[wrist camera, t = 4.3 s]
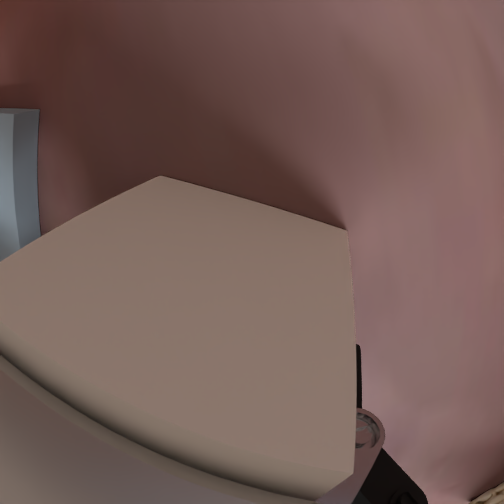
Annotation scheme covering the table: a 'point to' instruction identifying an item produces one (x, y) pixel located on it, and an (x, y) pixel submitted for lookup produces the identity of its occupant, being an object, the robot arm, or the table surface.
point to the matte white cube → (196, 332)
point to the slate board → (18, 179)
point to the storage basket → (491, 496)
